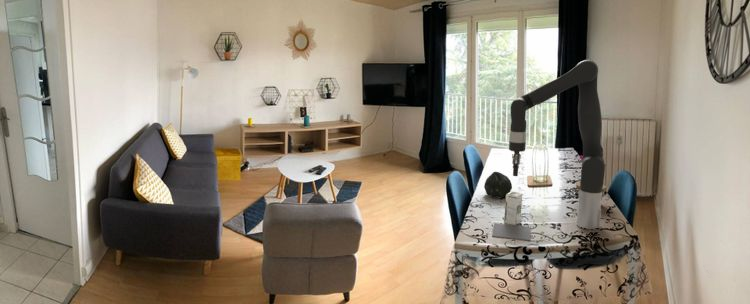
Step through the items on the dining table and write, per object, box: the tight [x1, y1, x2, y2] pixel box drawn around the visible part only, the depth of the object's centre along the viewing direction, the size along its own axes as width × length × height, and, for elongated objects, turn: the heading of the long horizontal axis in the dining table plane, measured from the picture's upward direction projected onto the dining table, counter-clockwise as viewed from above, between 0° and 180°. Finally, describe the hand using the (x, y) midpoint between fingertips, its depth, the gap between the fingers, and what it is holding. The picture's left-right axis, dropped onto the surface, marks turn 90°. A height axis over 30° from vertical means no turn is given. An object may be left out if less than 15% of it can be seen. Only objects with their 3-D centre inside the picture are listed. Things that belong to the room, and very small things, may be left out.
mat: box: [491, 223, 531, 242], centre depth 210 cm, size 16×15×1 cm
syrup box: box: [503, 190, 523, 226], centre depth 219 cm, size 6×6×14 cm
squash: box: [483, 171, 513, 199], centre depth 257 cm, size 14×15×15 cm
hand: (515, 175), depth 225 cm, fingers closed
